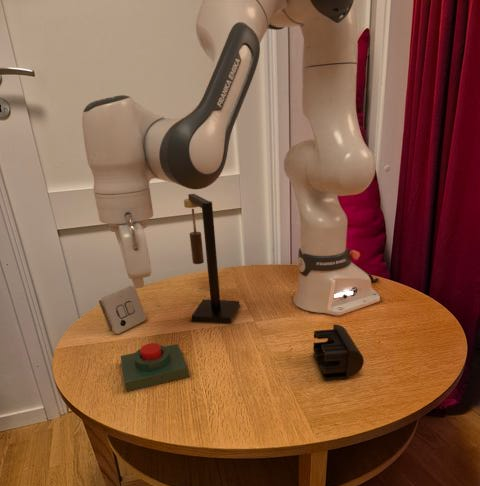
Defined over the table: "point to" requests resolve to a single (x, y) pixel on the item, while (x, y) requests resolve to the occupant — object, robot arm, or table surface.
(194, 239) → the pull handle
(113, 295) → the electrical switch
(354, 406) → the table surface
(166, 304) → the table surface
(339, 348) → the end cap
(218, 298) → the hanging handle stand
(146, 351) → the button
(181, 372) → the button box
